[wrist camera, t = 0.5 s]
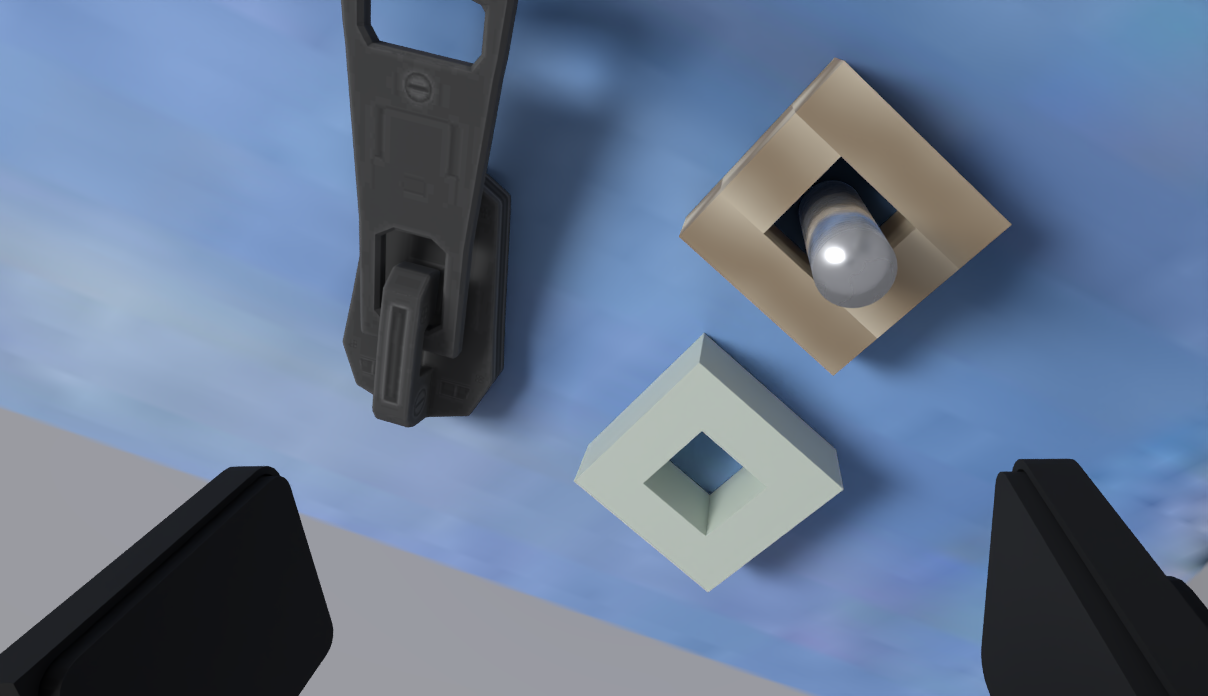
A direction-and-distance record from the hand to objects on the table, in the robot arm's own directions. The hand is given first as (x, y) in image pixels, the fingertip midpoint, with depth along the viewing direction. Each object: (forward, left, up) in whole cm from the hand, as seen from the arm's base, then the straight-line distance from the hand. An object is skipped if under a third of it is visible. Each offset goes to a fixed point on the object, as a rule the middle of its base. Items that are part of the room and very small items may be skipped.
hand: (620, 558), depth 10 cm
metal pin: (-2, +5, -30) cm, 31 cm away
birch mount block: (-2, +5, -30) cm, 31 cm away
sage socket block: (+12, +10, -30) cm, 34 cm away
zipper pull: (+11, -10, -30) cm, 34 cm away
